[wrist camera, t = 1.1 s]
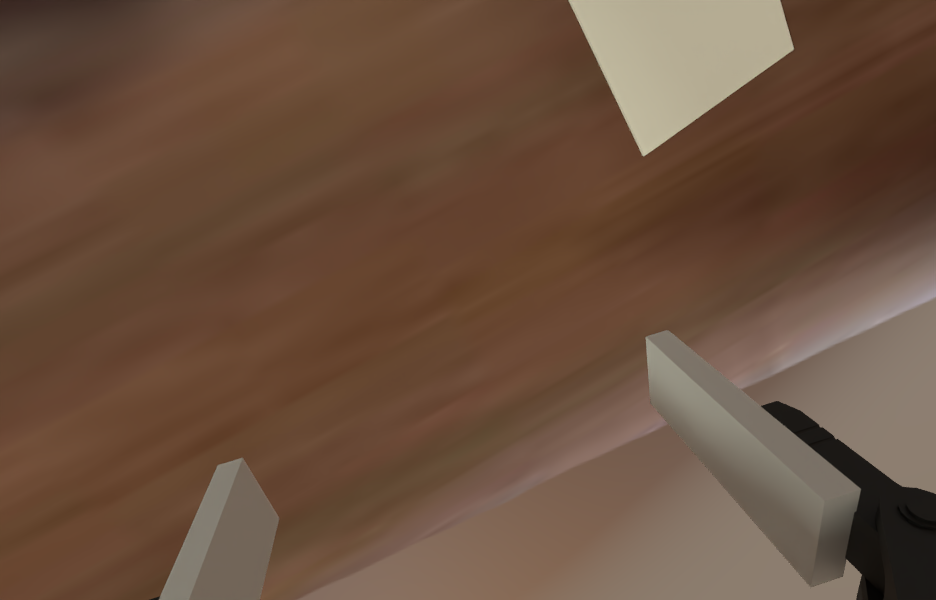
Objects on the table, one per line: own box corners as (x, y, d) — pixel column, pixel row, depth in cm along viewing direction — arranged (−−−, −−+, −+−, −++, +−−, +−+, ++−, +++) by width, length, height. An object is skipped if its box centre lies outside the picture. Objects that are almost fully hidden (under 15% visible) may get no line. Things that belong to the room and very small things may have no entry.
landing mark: (562, -12, 32) (563, -13, 32) (735, -147, 31) (738, -148, 31) (642, 156, 38) (643, 156, 38) (792, 49, 37) (794, 49, 37)
